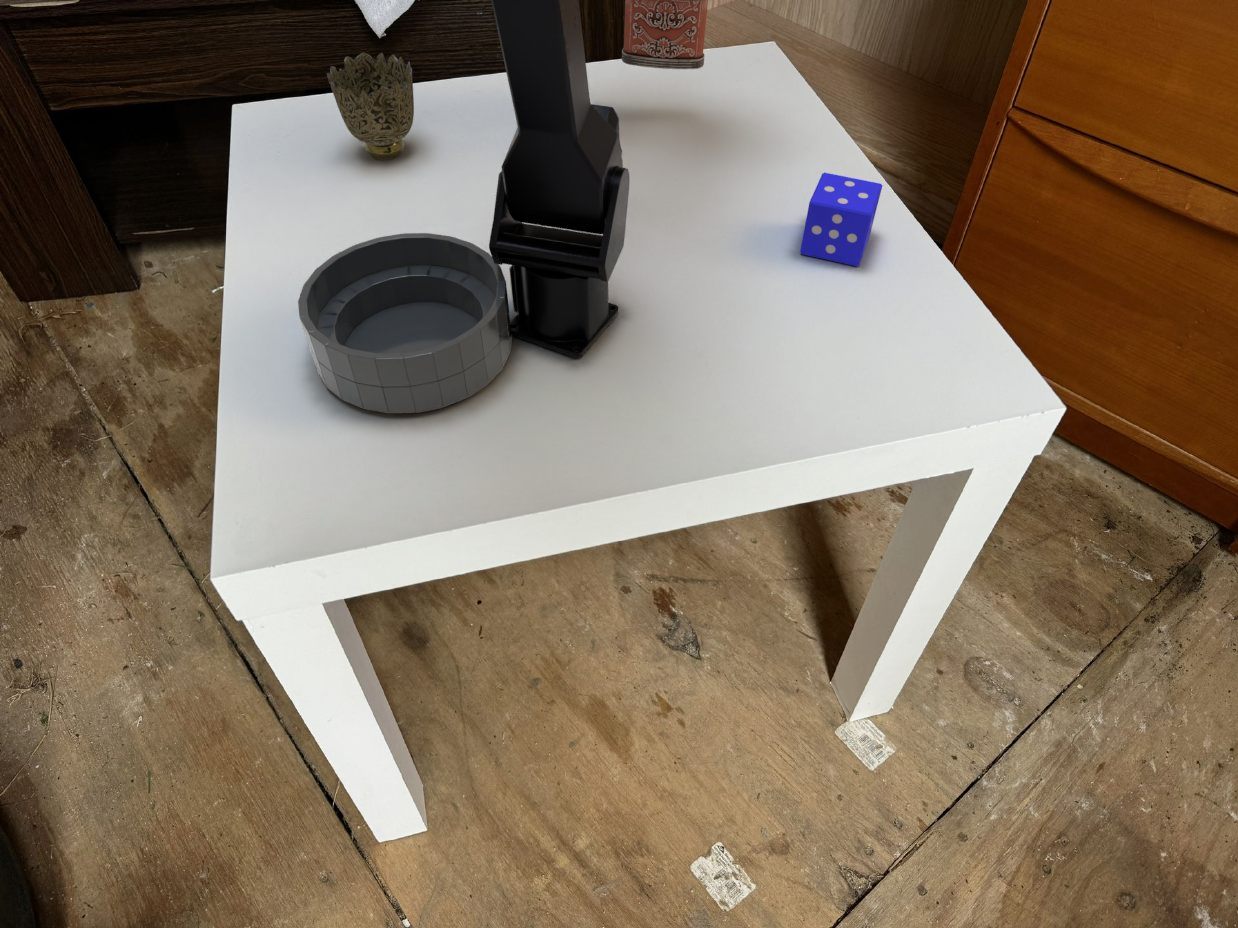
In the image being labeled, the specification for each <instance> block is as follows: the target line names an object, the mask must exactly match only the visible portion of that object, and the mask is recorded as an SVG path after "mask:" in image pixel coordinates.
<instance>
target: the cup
mask: <svg viewBox="0 0 1238 928" xmlns="http://www.w3.org/2000/svg"><path fill="white" fill-rule="evenodd" d="M329 71H330V72H327V73H326V77H327V81H328V83H329V86H330V88H331V91H332V94H333V98H334V100H335V102H336V105H337V108H338V110H339V113H340V116H341V118H342V120H343V123H344V125H345V127H346V128H347V130H348V131H349V133H350V134H351V135H352V136H353V137H354V138H355V139H356V140H357V141H358V142H361V143H363V144H364V148H365V151H366V152H367V153H368V155H369V156H370V157H372V158H374V159H377V160H390V159H391V160H392V159H393V158H396V157H398V156H400V155H401V154H402V153H403V152H404V148H405V140H404V138H406V136H407V135H408V134H409V133H410V131H411V129H412V127H413V123H414V117H415V116H414V115H415V100H414V98H415V97H414V83H413V67H412V66H411V63H410V61H408V62H407V64H406V63H405V61H404V59H403V57H402V56H399V58H397V57H396V55H395V54H391V55H390V56H389V57H388V59H387V60H386V59H385V56H384V54H383V52H380V53H379V54H378V55H377V56H376V58H372V56H371V55H370V54H368V53H366V52H364V51H363V52H361V53H359V54H358V55H357V56H356V57H355V59H353V58H352V57H351V56H347V55H346V56H345V58H344V59H343V69H342V68H339V70H337V68H336V67H335V66H333V65H332V66H330V68H329Z"/></svg>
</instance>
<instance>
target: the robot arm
mask: <svg viewBox="0 0 1238 928" xmlns="http://www.w3.org/2000/svg"><path fill="white" fill-rule="evenodd" d="M490 2H491V6H492V11H493V17H494V20H495V25H496V29H497V30H496V31H497V36H498V39H499V43H500V49H501V53H502V59H503V62H504V63H503V64H504V67H505V73H506V77H507V82H508V86H509V91H510V97H511V101H512V106H513V110H514V116H515V120H516V125H517V127H516V129H515V132H514V135H513V137H512V140H511V143H510V145H509V147H508V150H507V152H506V154H505V157H504V159H503V162H502V165H501V171H500V172H499V173H498V178H497V184H496V185H497V186H496V195H495V202H494V209H493V210H494V211H493V218H492V219H493V220H492V225H491V232H490V237H489V243H488V249H489V253H490V255H491V256H492V258H493V261H494V263H495V264H499V265H500V266H501V265H508V266H509V281H510V288H511V290H510V291H511V298H512V299H511V300H512V309H513V311H514V312H515V313H517V314H516V315H515V316H514V317H513V319H512V320H510V323H511V333H512V337H516V338H519V339H522V340H525V341H527V342H531V343H533V344H535V345H538V346H541V347H543V348H546V349H549V350H552V351H555V352H557V353H559V354H563V355H565V356H569V357H571V358H574V359H579V358H582V357H583V356H584V355H585V354H586V352H587V351H588V350H589V349H590V347H591V346H592V345H593V344H594V343H595V342H596V341H597V339H598V338H599V337H600V336H601V335H602V333H603V332H604V331H605V330H607V327H608V326H609V325H610V324H611V323H612V322H613V320H614V319H616V317H617V315H618V314H619V306H618V305H617V304H615V303H611V302H609V281H610V279H611V277H612V274H613V272H614V270H615V268H616V265H617V262H618V260H619V258H620V255H621V254H622V252H623V249H624V245H625V236H626V227H627V225H626V224H627V214H628V205H629V196H630V182H631V181H630V171H629V168H627V167H624V164H623V158H622V157H623V149H622V146H621V140H620V139H621V138H620V118H619V115H618V113H617V112H616V110H615V108H614V107H613V106H610V105H609V106H608V105H601V104H592V102H591V98H590V90H589V89H590V88H589V80H588V79H589V78H588V70H587V63H586V54H585V53H586V52H585V45H584V37H583V36H584V35H583V27H582V17H581V9H580V0H490Z"/></svg>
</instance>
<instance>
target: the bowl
mask: <svg viewBox="0 0 1238 928" xmlns="http://www.w3.org/2000/svg"><path fill="white" fill-rule="evenodd" d="M297 307H298V316H299V320H300V323H301V326H302V329H303V333H304V335H305V339H306V342H307V344H308V348H309V350H310V353H311V356H312V359H313V362H314V365H315V368H316V370H317V373H318V375H319V377H320V378H321V380H322V382H323V383H324V386H325V388H327V389H328V390H330V392H332V393H333V394H334V395H336V396H337V397H338V398H339V399H340V400H342V401H343V402H346V403H348V404H351V405H353V406H355V407H358V408H359V409H364V410H367V411H373V412H378V413H384V414H415V413H416V414H420V413H425V412H429V411H434V410H439V409H443V408H446V407H448V406H451V405H453V404H457V403H458V402H460V401H463V400H465V399H467V398H470V397H472V396H473V395H475V394H476V393H479V391H481V390H482V389H484V388H485V387H487V386H488V385H489V384H491V382H492V381H493V380H494V379H495V378H496V377H497V376H498V375H499V374H500V372H501V371H502V369H503V368H504V366H505V364H506V363H507V360H508V358H509V356H510V354H511V351H512V340H513V335H512V333H511V323H510V322H511V316H510V305H509V297H508V288H507V281H506V278H505V275H504V273H503V269H502V267H501V265H500V264H495V263H494V261H493V258H492V255H491V253H490V252H487V251H486V250H484V249H483V248H481V247H479V246H477V245H476V244H475V243H472V242H469V241H467V240H464V239H460V238H458V237H455V236H451V235H445V234H438V233H430V232H409V233H408V232H407V233H406V232H404V233H398V234H390V235H385V236H379V237H374V238H372V239H369V240H366V241H363V242H359V243H356V244H354V245H351V246H349V247H347V248H345V249H343V250H341V251H339V252H337V253H336V254H333V255H332V256H331V257H329V258H328V259H327V260H325V261H324V262H323V263H322V264H320V265H319V266H318V267H316V269H314V271H313V272H312V273H311V274H310V276H308V279H307V280H306V281H305V282H304V283H303V286H302V289H301V292H300V294H299V297H298V301H297Z"/></svg>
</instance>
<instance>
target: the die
mask: <svg viewBox="0 0 1238 928" xmlns="http://www.w3.org/2000/svg"><path fill="white" fill-rule="evenodd" d="M816 184H817V185H816V187H815V189H814V191H813V194H812V196H811V198H810V200H809V202H808V208H807V212H806V218H805V224H804V229H803V235H802V239H801V245H800V251H799V253H800V254H801V255H804V256H808V257H812V258H817V259H822V260H826V261H831V262H835V263H839V264H844V265H848V266H853V267H859V266H860V265H861V262H862V259H863V256H864V254H865V251H866V248H867V244H868V242H869V239H870V237H871V233H872V229H873V224H874V220H875V217H876V211H877V209H878V205H879V201H880V197H881V192H882V189H883V183H880V182H876V181H869V180H864V179H860V178H855V177H848V176H844V175H839V174H834V173H830V172H829V173H828V172H822V174H821V176H820V178H819V180H818V182H817V183H816Z"/></svg>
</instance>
